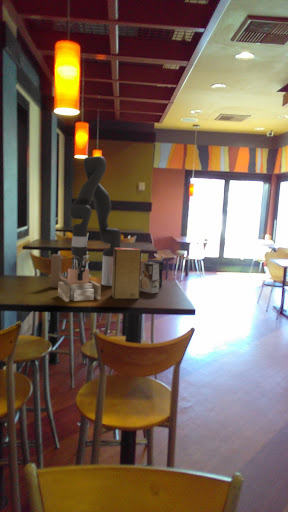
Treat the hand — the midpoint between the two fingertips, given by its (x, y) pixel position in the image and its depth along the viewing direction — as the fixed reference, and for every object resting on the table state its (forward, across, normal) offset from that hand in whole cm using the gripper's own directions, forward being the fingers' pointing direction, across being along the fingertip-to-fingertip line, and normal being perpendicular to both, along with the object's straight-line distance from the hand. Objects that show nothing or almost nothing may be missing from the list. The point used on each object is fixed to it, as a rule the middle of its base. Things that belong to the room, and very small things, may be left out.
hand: (78, 279), depth 197 cm
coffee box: (+9, +1, -42) cm, 43 cm away
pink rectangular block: (+9, 0, 0) cm, 9 cm away
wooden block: (+9, +24, +2) cm, 26 cm away
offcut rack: (+9, -2, 0) cm, 9 cm away
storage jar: (+9, +15, -53) cm, 56 cm away
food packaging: (+9, -7, -23) cm, 26 cm away
